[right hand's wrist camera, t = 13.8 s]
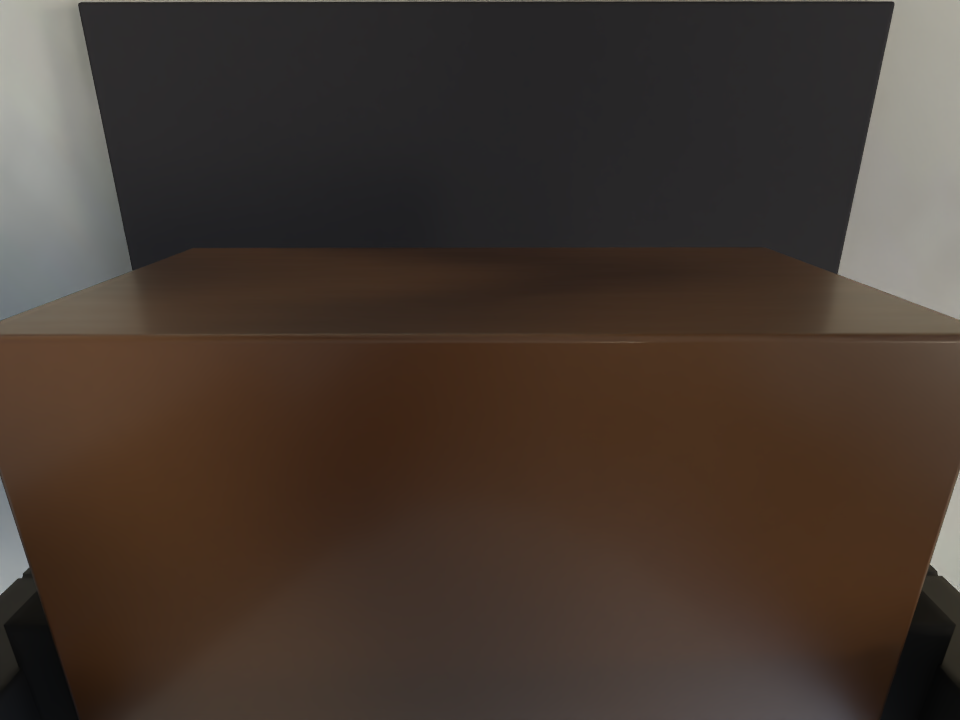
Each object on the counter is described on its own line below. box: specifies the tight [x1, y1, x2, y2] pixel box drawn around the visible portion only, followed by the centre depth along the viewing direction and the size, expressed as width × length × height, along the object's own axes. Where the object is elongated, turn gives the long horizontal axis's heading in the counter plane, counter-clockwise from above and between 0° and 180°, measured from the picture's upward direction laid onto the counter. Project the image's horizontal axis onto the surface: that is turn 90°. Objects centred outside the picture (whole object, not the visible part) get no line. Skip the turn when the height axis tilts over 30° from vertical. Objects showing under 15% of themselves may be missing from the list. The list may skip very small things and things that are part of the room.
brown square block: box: [0, 247, 960, 720], centre depth 10 cm, size 10×10×5 cm
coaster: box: [78, 2, 894, 274], centre depth 18 cm, size 20×20×1 cm
